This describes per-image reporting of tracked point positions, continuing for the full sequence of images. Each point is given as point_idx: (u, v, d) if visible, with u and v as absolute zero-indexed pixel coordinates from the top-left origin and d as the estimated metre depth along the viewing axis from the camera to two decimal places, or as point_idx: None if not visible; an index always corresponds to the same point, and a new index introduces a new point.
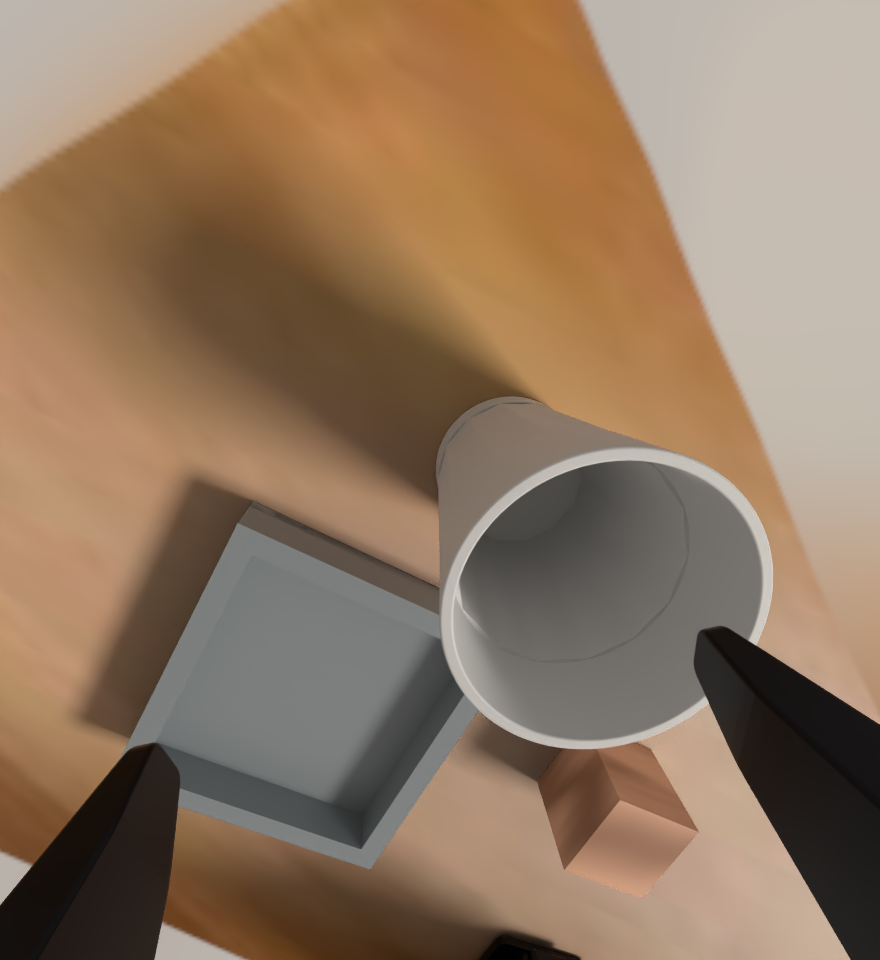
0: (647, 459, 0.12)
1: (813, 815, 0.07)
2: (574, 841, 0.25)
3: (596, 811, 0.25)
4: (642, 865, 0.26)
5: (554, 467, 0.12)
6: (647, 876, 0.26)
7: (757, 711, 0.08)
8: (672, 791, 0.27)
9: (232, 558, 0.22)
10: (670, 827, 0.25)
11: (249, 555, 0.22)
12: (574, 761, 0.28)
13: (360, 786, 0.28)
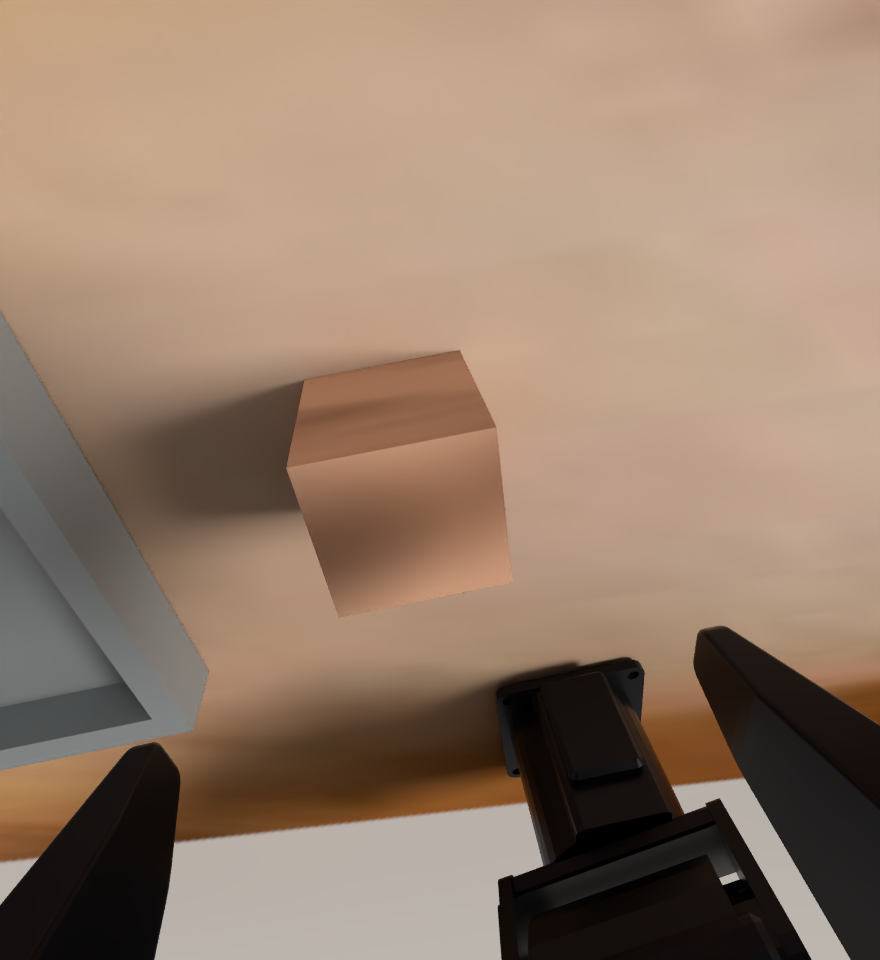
0: None
1: (813, 815, 0.07)
2: None
3: None
4: (457, 539, 0.13)
5: None
6: (482, 549, 0.13)
7: (757, 711, 0.08)
8: (467, 390, 0.14)
9: None
10: (432, 453, 0.12)
11: None
12: None
13: None
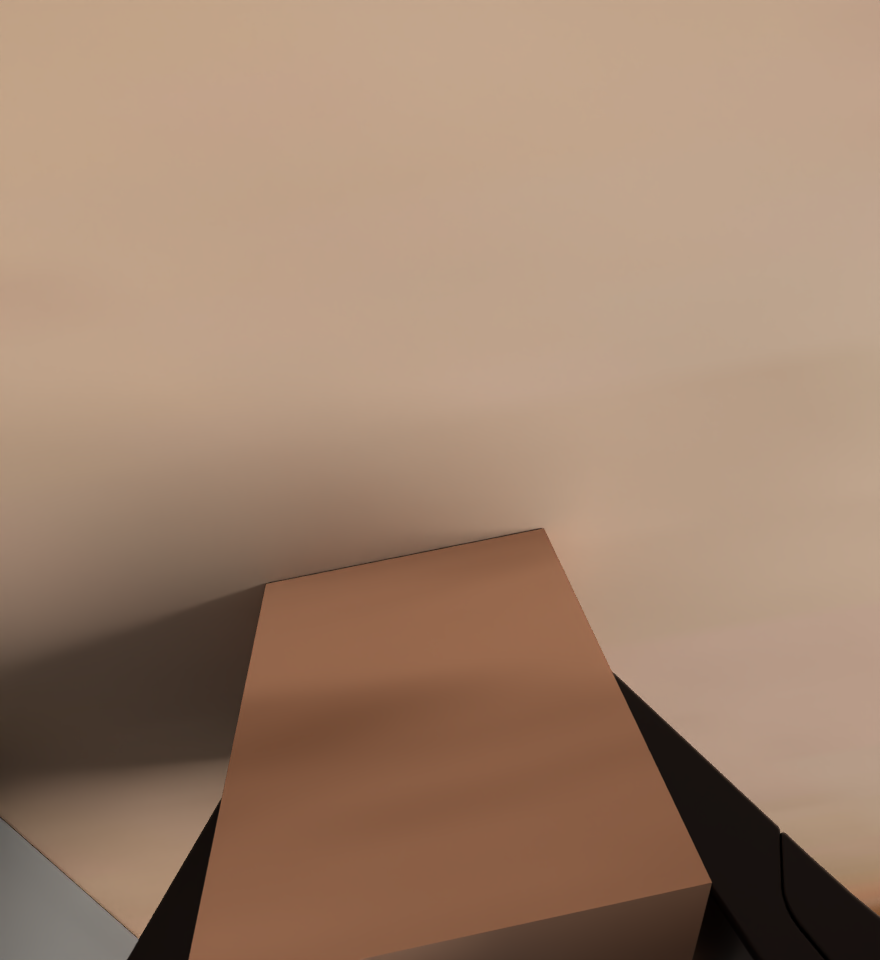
0: None
1: None
2: None
3: None
4: None
5: None
6: None
7: None
8: (593, 680, 0.06)
9: None
10: (547, 933, 0.05)
11: None
12: None
13: None
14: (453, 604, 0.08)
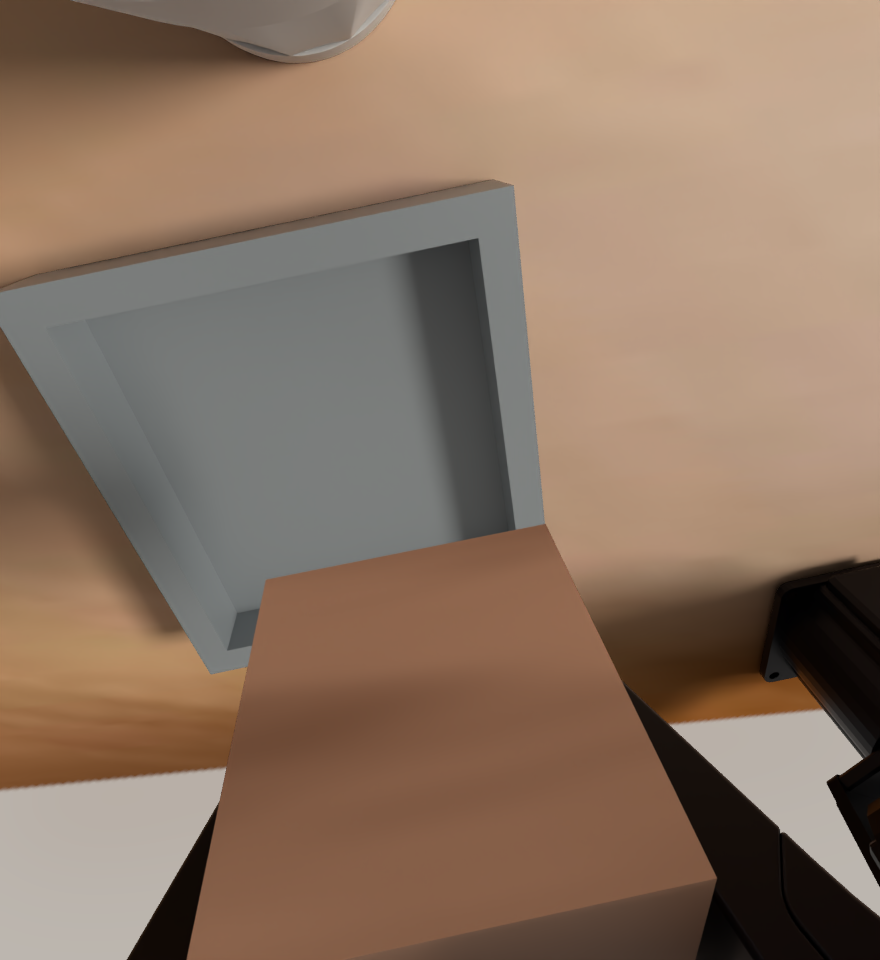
0: None
1: None
2: None
3: None
4: None
5: None
6: None
7: None
8: (596, 675, 0.06)
9: (34, 351, 0.14)
10: (548, 930, 0.05)
11: (46, 331, 0.14)
12: None
13: (481, 527, 0.21)
14: (454, 599, 0.08)
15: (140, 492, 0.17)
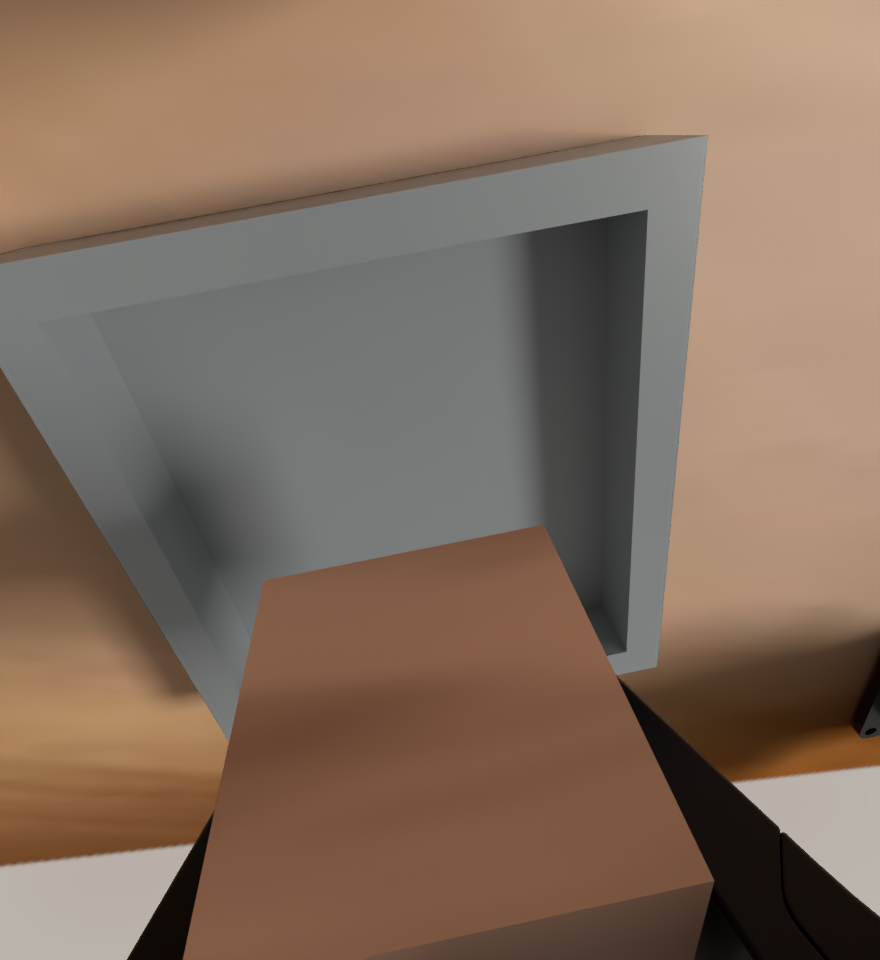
0: None
1: None
2: None
3: None
4: None
5: None
6: None
7: None
8: (593, 676, 0.06)
9: (20, 354, 0.10)
10: (545, 932, 0.05)
11: (37, 327, 0.10)
12: None
13: (571, 574, 0.17)
14: (452, 600, 0.08)
15: (160, 542, 0.12)
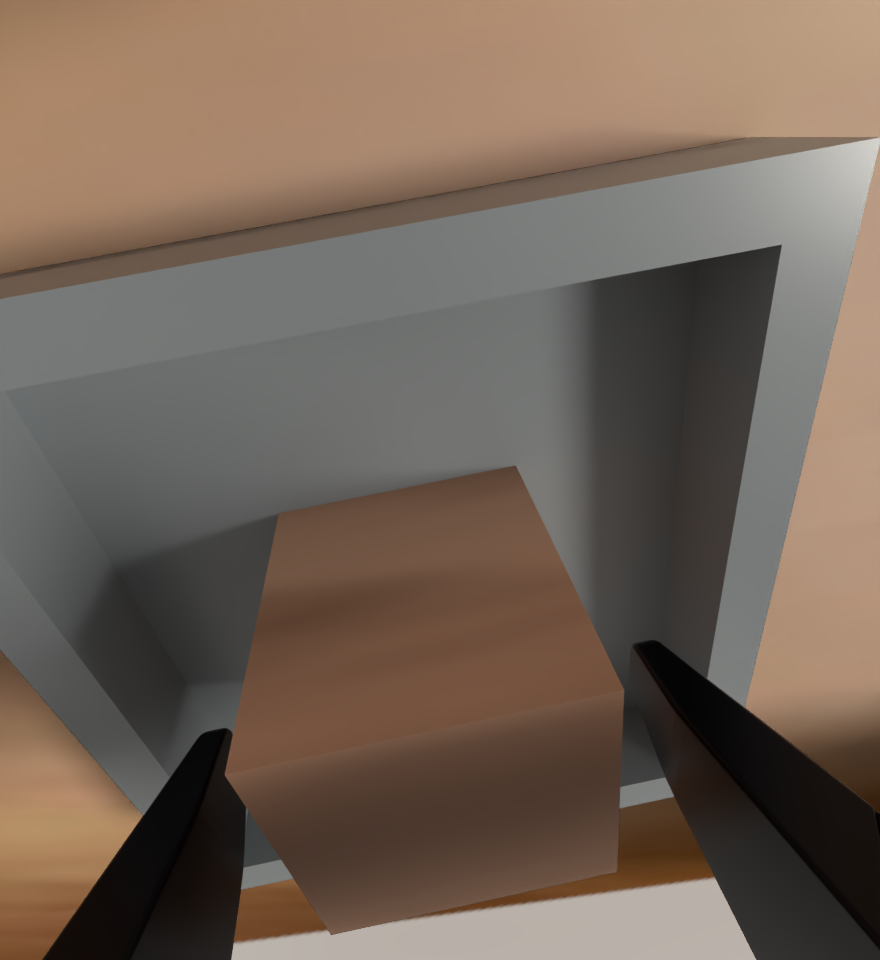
0: None
1: (727, 834, 0.07)
2: None
3: None
4: (534, 834, 0.08)
5: None
6: (575, 840, 0.08)
7: (678, 728, 0.08)
8: (547, 569, 0.08)
9: None
10: (501, 733, 0.06)
11: None
12: None
13: (621, 672, 0.14)
14: (436, 522, 0.09)
15: (99, 675, 0.09)
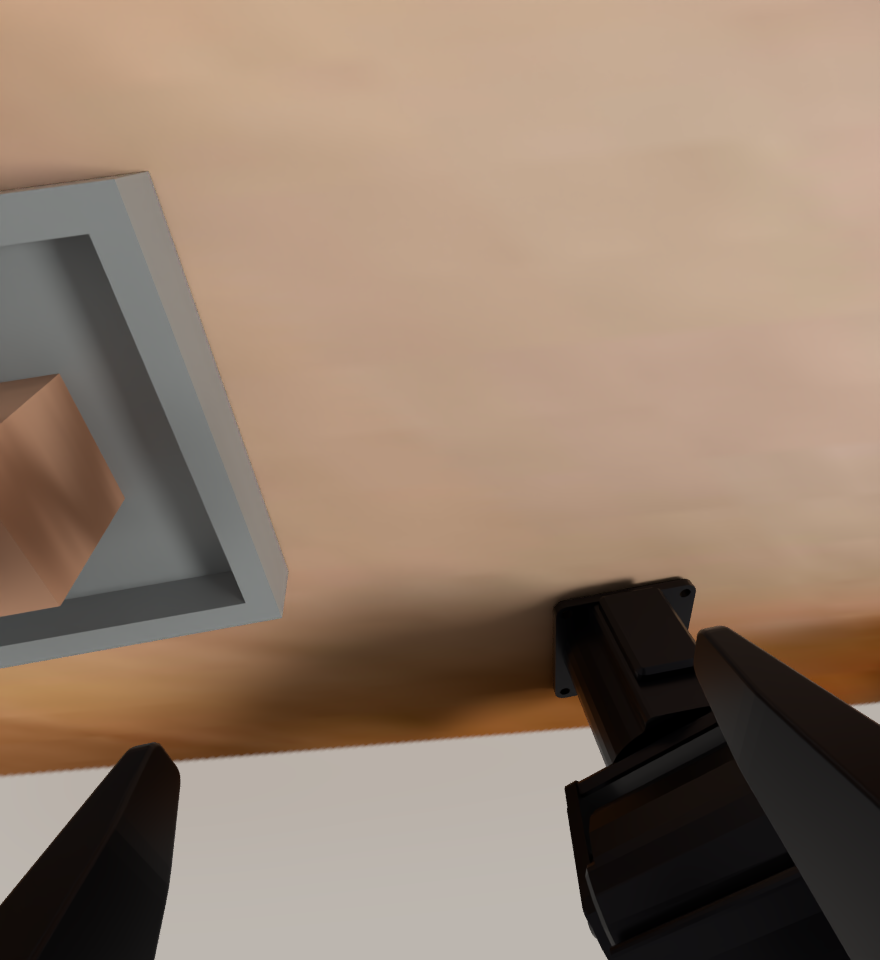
0: None
1: (813, 815, 0.07)
2: None
3: None
4: None
5: None
6: (8, 574, 0.14)
7: (757, 711, 0.08)
8: None
9: None
10: None
11: None
12: None
13: (212, 538, 0.20)
14: None
15: None
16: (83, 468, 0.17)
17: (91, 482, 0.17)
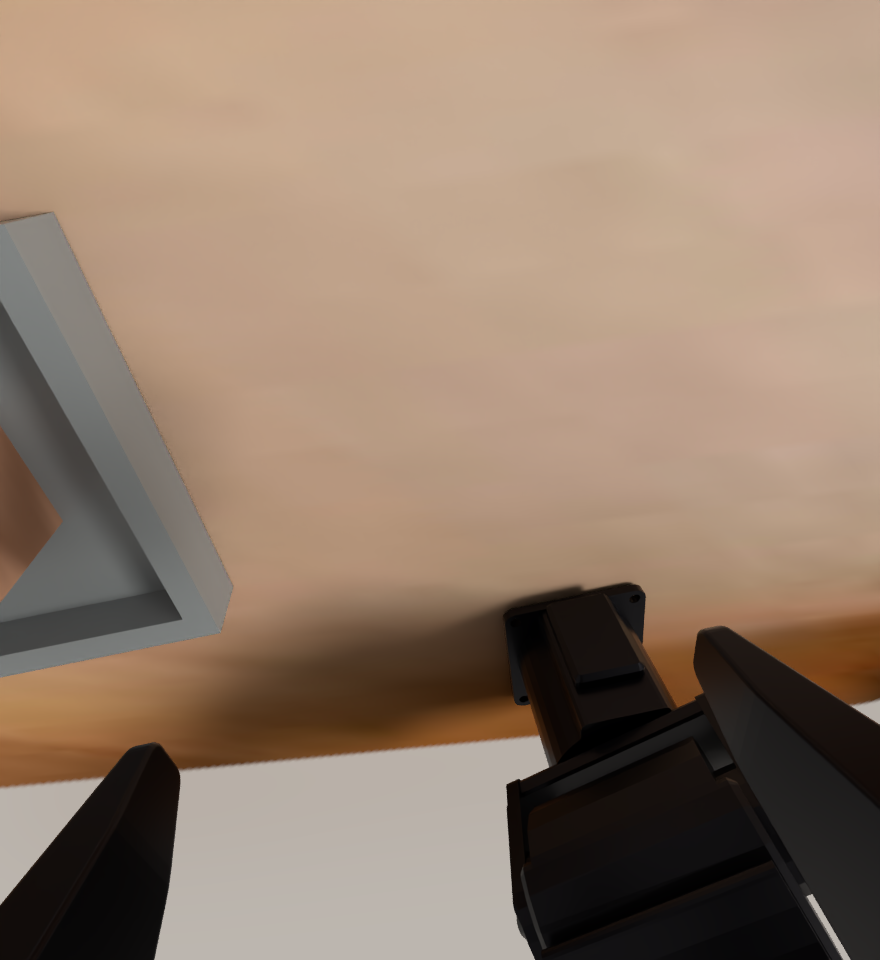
0: None
1: (813, 815, 0.07)
2: None
3: None
4: None
5: None
6: None
7: (757, 711, 0.08)
8: None
9: None
10: None
11: None
12: None
13: None
14: None
15: None
16: (13, 494, 0.17)
17: (22, 507, 0.18)
